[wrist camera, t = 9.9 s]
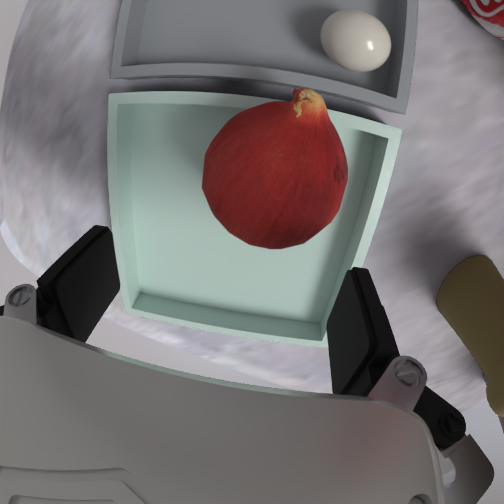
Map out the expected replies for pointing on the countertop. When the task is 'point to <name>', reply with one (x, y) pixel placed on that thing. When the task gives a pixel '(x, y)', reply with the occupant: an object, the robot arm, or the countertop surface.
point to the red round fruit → (276, 172)
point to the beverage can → (488, 15)
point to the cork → (478, 318)
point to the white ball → (355, 40)
